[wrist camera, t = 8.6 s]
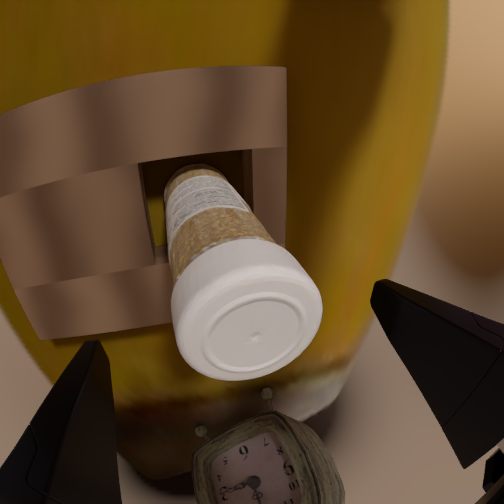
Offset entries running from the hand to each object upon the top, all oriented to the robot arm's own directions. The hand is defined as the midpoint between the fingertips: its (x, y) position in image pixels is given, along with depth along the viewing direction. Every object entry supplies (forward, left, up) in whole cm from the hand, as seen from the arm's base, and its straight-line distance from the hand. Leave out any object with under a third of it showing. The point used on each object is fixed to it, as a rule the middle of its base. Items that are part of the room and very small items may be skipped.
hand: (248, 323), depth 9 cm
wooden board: (+5, 0, -13) cm, 14 cm away
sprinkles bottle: (0, 0, -13) cm, 13 cm away
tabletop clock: (-2, +29, -13) cm, 32 cm away
